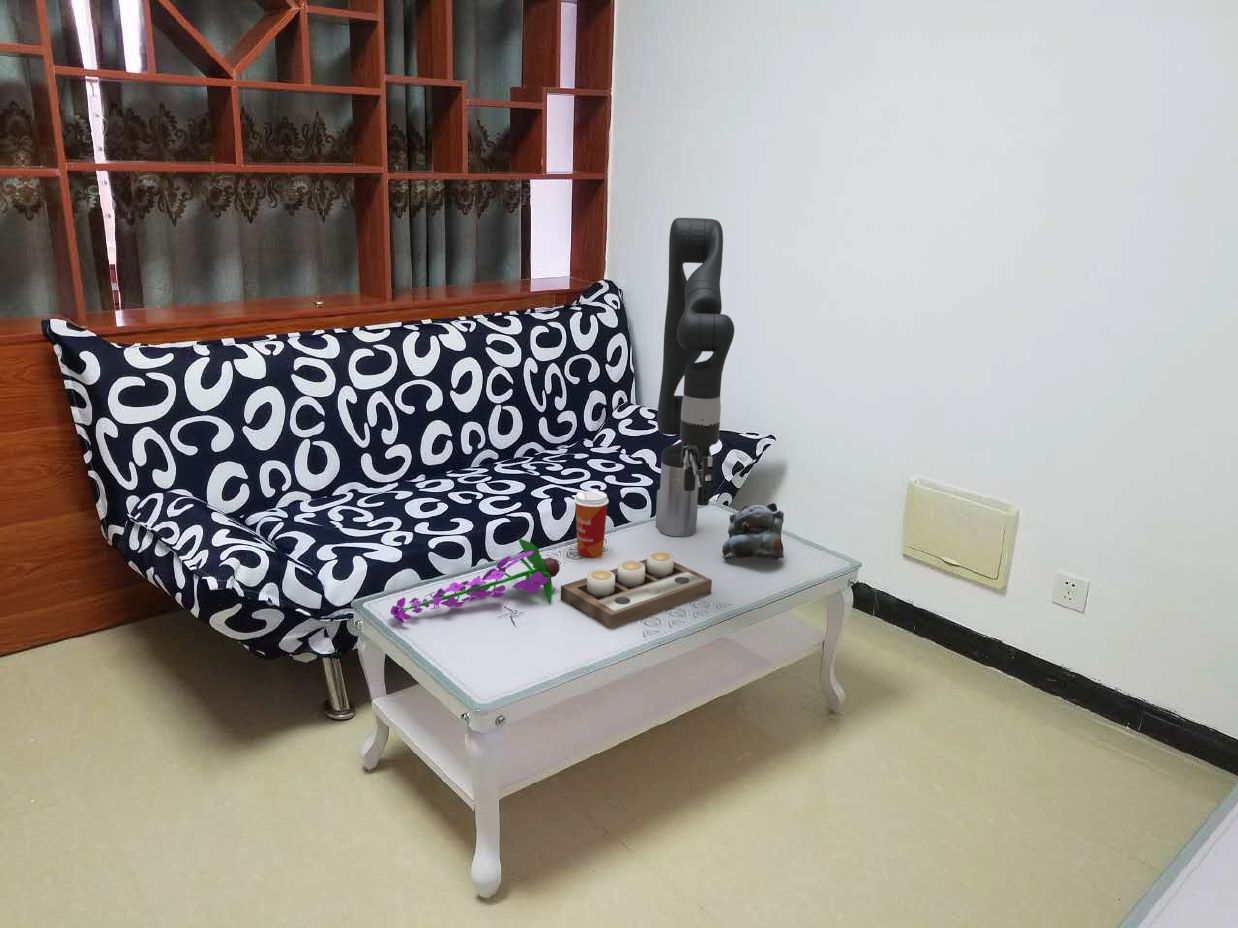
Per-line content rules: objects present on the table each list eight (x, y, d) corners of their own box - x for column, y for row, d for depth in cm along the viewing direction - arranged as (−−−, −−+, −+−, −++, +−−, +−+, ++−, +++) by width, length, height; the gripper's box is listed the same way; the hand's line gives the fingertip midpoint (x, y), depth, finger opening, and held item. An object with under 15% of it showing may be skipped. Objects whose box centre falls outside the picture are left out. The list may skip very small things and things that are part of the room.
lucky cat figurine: (709, 558, 218) (713, 497, 220) (739, 565, 227) (743, 506, 229) (766, 558, 208) (769, 494, 211) (795, 565, 217) (798, 504, 219)
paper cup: (567, 549, 220) (569, 491, 216) (598, 544, 223) (600, 487, 219) (581, 562, 214) (582, 502, 209) (612, 557, 217) (614, 498, 212)
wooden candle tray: (560, 599, 196) (560, 584, 195) (659, 567, 212) (660, 553, 211) (610, 629, 184) (611, 613, 183) (711, 593, 201) (712, 578, 200)
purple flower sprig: (568, 612, 199) (407, 667, 182) (533, 552, 208) (376, 598, 190) (581, 577, 190) (413, 631, 173) (544, 516, 199) (380, 561, 181)
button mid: (611, 578, 199) (612, 564, 198) (632, 571, 202) (633, 557, 201) (629, 587, 195) (630, 573, 194) (650, 580, 198) (650, 566, 197)
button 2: (641, 568, 204) (641, 555, 203) (660, 562, 207) (661, 549, 206) (658, 577, 200) (659, 563, 199) (678, 571, 203) (679, 557, 202)
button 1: (581, 587, 194) (581, 573, 193) (602, 581, 197) (603, 566, 196) (598, 597, 190) (599, 583, 189) (620, 590, 193) (620, 576, 192)
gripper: (670, 409, 191) (667, 486, 196) (693, 428, 178) (688, 511, 183) (706, 408, 193) (702, 485, 198) (731, 426, 180) (726, 508, 184)
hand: (695, 497), depth 190 cm, fingers open, 8 cm apart
